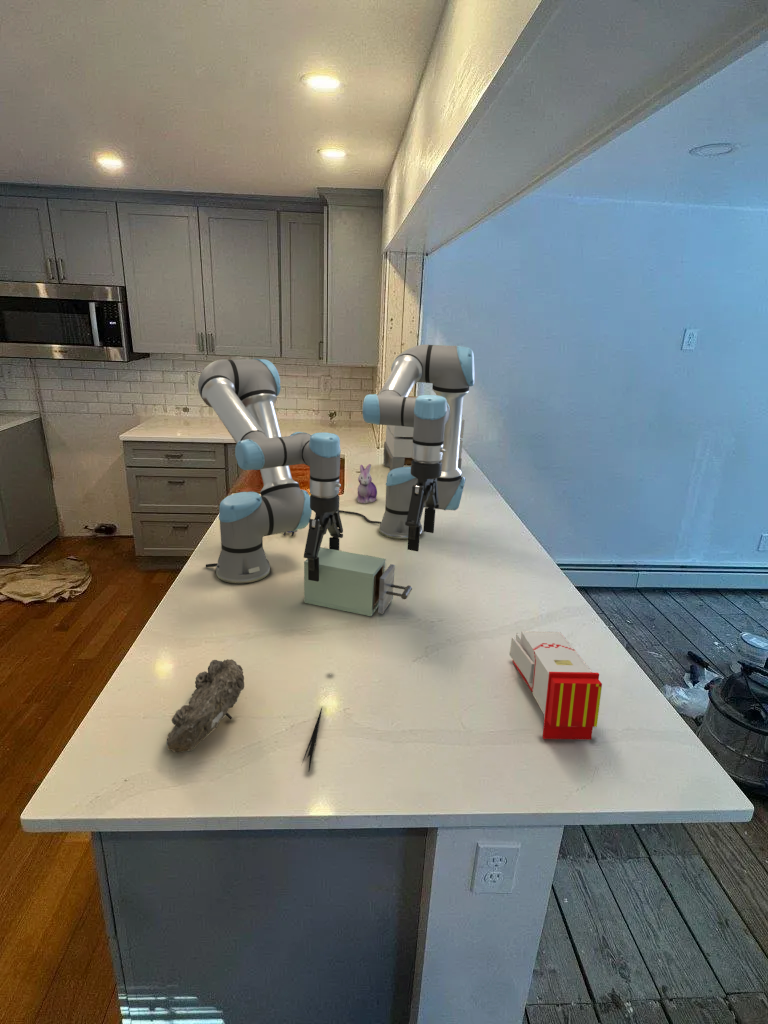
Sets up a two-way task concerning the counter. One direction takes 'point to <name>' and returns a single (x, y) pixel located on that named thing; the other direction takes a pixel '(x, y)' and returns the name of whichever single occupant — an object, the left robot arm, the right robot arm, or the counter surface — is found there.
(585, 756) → the counter surface
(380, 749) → the counter surface
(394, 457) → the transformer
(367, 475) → the figurine
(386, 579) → the drawer
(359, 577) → the cabinet
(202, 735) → the fossil
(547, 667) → the toy
